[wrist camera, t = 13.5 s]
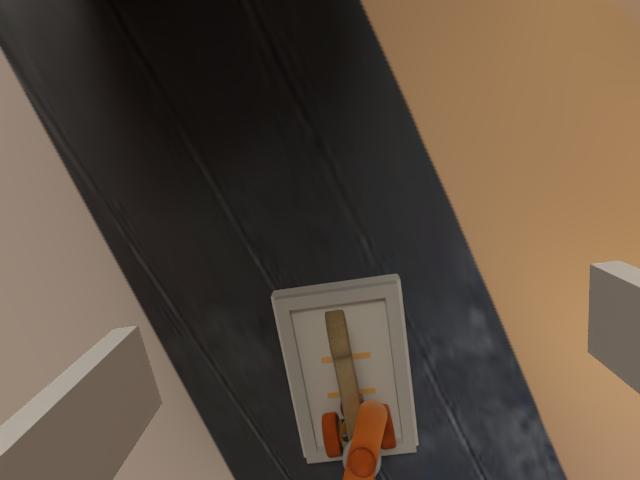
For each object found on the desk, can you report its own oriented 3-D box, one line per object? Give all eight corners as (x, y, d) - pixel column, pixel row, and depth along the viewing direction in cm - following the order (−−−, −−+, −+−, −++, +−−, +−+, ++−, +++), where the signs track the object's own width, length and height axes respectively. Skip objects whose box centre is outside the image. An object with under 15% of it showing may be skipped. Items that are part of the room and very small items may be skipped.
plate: (273, 290, 45) (269, 300, 42) (397, 273, 44) (402, 282, 41) (305, 445, 50) (303, 464, 48) (415, 433, 49) (420, 451, 47)
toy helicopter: (330, 442, 48) (330, 558, 34) (296, 296, 43) (281, 365, 29) (393, 433, 47) (418, 548, 34) (366, 283, 42) (383, 349, 29)
